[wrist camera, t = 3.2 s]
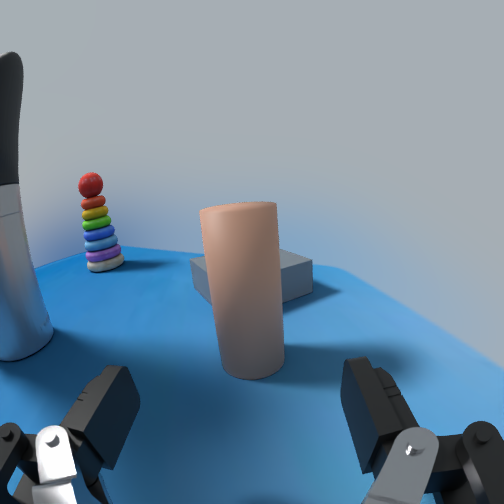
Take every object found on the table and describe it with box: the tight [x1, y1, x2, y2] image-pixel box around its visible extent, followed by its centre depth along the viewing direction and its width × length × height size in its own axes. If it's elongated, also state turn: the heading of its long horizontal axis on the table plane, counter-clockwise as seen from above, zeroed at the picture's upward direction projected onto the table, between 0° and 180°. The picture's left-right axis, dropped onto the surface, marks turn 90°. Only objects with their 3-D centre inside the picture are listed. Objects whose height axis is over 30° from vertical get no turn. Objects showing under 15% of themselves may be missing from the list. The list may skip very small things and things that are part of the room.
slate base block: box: [190, 249, 313, 305], centre depth 34 cm, size 11×11×4 cm
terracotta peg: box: [199, 202, 284, 380], centre depth 20 cm, size 5×5×12 cm
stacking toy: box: [78, 173, 124, 272], centre depth 48 cm, size 8×8×19 cm
